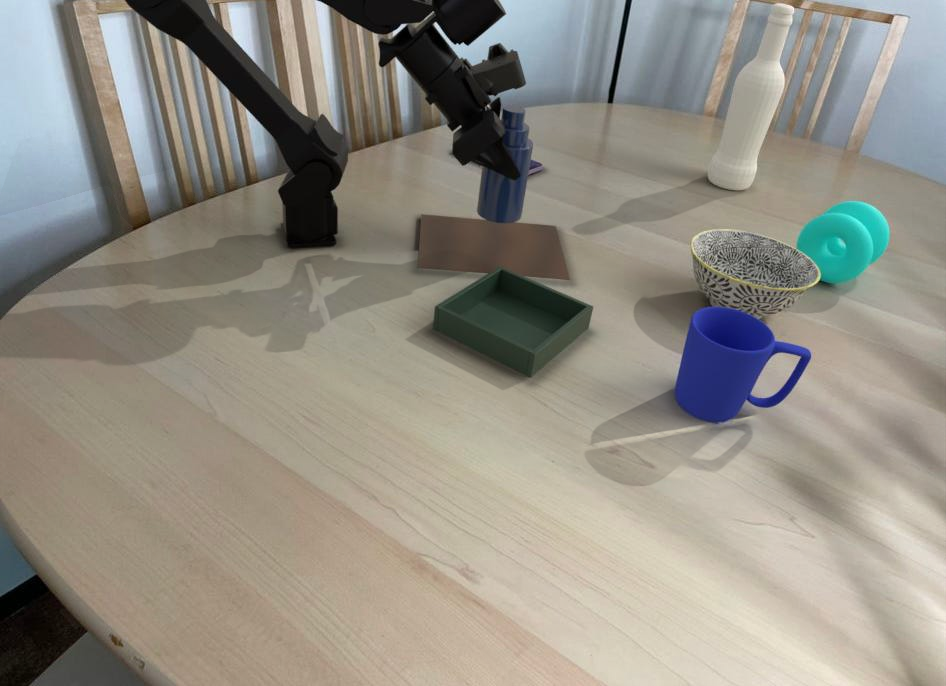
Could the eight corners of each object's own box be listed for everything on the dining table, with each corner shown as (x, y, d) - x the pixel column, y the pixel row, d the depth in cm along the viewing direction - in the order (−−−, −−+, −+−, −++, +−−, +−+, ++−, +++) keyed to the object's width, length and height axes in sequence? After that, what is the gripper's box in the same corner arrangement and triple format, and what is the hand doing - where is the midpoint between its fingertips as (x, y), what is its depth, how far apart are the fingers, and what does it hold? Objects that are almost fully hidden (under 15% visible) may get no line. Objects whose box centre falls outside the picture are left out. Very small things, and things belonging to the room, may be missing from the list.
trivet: (417, 271, 96) (417, 267, 96) (421, 217, 109) (421, 214, 109) (569, 283, 98) (570, 279, 97) (555, 229, 111) (555, 225, 111)
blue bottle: (506, 227, 96) (522, 120, 88) (468, 212, 98) (480, 107, 90) (529, 214, 100) (547, 110, 92) (492, 200, 103) (506, 98, 95)
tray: (432, 332, 85) (434, 306, 83) (496, 290, 94) (500, 265, 92) (529, 381, 79) (535, 354, 77) (587, 331, 89) (593, 306, 86)
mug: (786, 447, 75) (823, 368, 69) (666, 422, 76) (693, 342, 70) (775, 398, 81) (808, 322, 76) (665, 375, 83) (689, 299, 77)
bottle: (755, 183, 136) (816, 7, 119) (744, 196, 130) (805, 12, 113) (713, 170, 139) (765, -3, 122) (699, 182, 133) (753, 2, 116)
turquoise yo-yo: (783, 268, 108) (808, 205, 103) (809, 249, 115) (834, 189, 109) (851, 297, 103) (881, 232, 97) (875, 275, 110) (904, 213, 104)
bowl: (714, 265, 107) (730, 217, 102) (819, 315, 98) (842, 264, 94) (652, 299, 97) (666, 247, 92) (763, 357, 88) (785, 303, 84)
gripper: (495, 45, 78) (578, 157, 85) (488, 9, 93) (559, 106, 101) (415, 111, 82) (501, 213, 89) (421, 66, 97) (494, 156, 104)
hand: (516, 168), depth 96 cm, fingers closed on blue bottle, 6 cm apart
